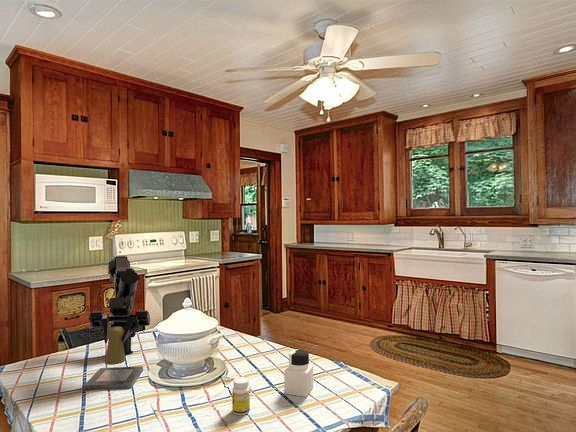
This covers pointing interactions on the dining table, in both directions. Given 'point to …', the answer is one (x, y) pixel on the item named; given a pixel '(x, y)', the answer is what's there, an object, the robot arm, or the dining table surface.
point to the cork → (115, 346)
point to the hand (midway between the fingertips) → (114, 342)
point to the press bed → (114, 378)
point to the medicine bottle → (298, 374)
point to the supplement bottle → (241, 396)
